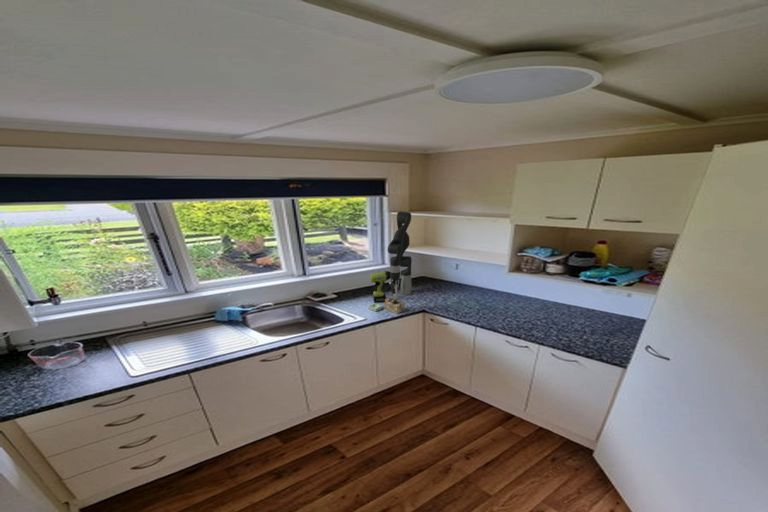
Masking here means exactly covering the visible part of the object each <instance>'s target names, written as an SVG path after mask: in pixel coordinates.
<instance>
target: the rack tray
mask: <svg viewBox="0 0 768 512" xmlns="http://www.w3.org/2000/svg"><path fill="white" fill-rule="evenodd" d="M383 308H384V306H383V305H382V304H379V303H372V304H370V305H368V306H367V310H369V311H373V312H379V311H381V310H383Z"/></svg>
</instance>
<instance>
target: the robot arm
mask: <svg viewBox="0 0 768 512" xmlns="http://www.w3.org/2000/svg"><path fill="white" fill-rule="evenodd" d="M411 222H412V213H411V212H408V211H398V212H397V213H396V225H397V230H396V231H395V233H394V236H393V238H392V240H391V242H390V243H389V244H388V246H387V252H388V254H390V255H391V254H392V255H394V256H391V257H390V259H389V262H390V263H389V266H390V267H389V272H390V277H391V278H390V281H389V282H388V286H389V288H390V290H391V291H392V295H393V294H395V286H396V284H397V293H399V288H400V294H401V295H404V296H408V295H410V294H412V292H413V291H412V289H413V288H412V287H413V286H412V285H413V283H412V262H413V261H412V260H413V259H412V257H411V255H410V256H409V255H408V256H407V255H405V256H404V253H405V252H406V251H407V249H408V248H409V246H410V235H409V234H408V232H407V230H408V228H409V226H410V224H411ZM395 255H396V256H395ZM401 268H405V269H402V270H401ZM393 284H394V285H393ZM393 286H394V287H393Z"/></svg>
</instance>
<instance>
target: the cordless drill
mask: <svg viewBox="0 0 768 512" xmlns="http://www.w3.org/2000/svg"><path fill="white" fill-rule="evenodd" d="M369 280H370V282H371V283H374V291H373V293H372V295H373V297H372V298H373V300H372V301H373V302H374V303H376V304H379V303H385V299H387V295H386V293H385V292H384V291H382V287H383V285H385V283H386V282H387V281H388V280H391V277H390V270H389V271H388V270H386V271H380V272H376V273H371V274H370V275H369ZM374 303H373V304H374Z"/></svg>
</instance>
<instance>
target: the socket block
mask: <svg viewBox="0 0 768 512" xmlns="http://www.w3.org/2000/svg"><path fill="white" fill-rule="evenodd" d="M405 306H406V305H405V302H404V301H401V300H399V299H397V304H393V299H392V300H391V301H390V302H388V303H386V308H385V311H386V312H389V313H392V314H396V315H398V314H400V313H401V312H403V311H405V309H406V308H405Z"/></svg>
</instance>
